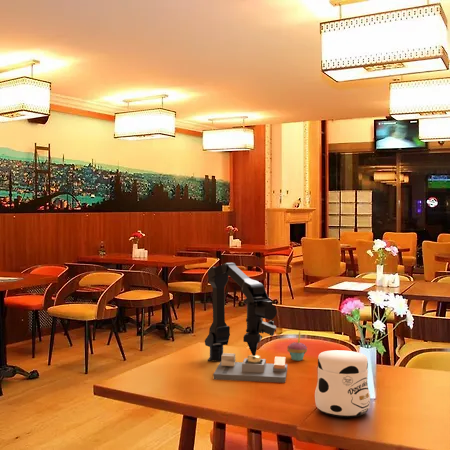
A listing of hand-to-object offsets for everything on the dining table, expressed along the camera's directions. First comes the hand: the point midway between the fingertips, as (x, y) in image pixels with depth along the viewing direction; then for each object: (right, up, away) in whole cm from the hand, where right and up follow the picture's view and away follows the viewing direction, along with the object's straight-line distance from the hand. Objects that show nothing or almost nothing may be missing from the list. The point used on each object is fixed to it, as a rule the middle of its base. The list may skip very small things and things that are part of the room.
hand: (253, 355), depth 228 cm
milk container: (+26, -9, -41) cm, 50 cm away
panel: (-1, -7, 0) cm, 7 cm away
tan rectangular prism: (-10, -5, +5) cm, 12 cm away
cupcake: (+20, -7, +23) cm, 31 cm away
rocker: (+10, -2, -1) cm, 10 cm away
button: (0, -3, 0) cm, 3 cm away
